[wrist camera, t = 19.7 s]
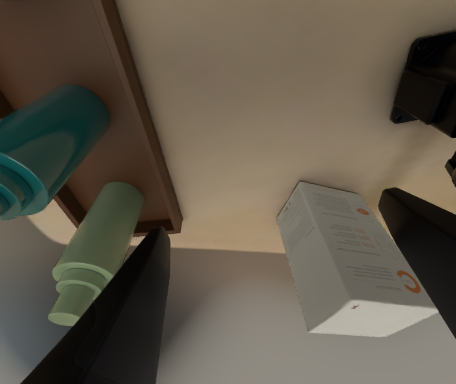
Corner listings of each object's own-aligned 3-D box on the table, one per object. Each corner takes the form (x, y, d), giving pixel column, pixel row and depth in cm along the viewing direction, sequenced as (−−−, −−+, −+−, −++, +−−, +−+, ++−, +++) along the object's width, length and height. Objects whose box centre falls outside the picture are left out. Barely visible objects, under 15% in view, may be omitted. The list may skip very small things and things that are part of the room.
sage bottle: (133, 178, 23) (76, 301, 14) (151, 209, 26) (114, 328, 17) (91, 185, 24) (8, 310, 14) (114, 215, 27) (57, 334, 17)
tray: (47, -219, 10) (10, -264, 8) (182, 218, 28) (180, 233, 27) (-195, -186, 10) (-279, -222, 9) (94, 225, 29) (86, 240, 27)
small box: (275, 218, 29) (305, 334, 19) (299, 179, 25) (352, 300, 15) (331, 228, 31) (385, 339, 21) (361, 193, 27) (446, 310, 17)
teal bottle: (57, 70, 17) (-150, 166, 7) (118, 107, 19) (18, 222, 9) (43, 118, 19) (-127, 239, 10) (100, 147, 21) (4, 271, 12)
